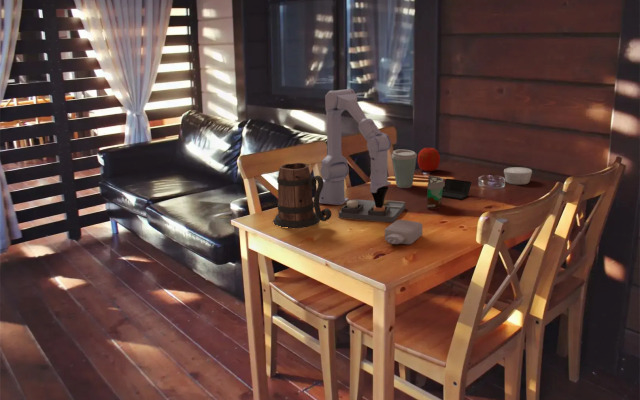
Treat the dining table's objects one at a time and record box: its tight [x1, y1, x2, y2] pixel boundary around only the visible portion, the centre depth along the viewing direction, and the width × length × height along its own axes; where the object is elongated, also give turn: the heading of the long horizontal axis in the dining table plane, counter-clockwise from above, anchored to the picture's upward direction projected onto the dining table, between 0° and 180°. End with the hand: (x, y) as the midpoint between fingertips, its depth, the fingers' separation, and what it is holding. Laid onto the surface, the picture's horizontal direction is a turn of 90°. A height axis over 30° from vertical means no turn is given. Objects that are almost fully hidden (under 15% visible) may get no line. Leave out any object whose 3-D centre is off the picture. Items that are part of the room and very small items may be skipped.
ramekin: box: [503, 166, 533, 186], centre depth 247 cm, size 11×11×5 cm
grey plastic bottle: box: [384, 219, 423, 246], centre depth 185 cm, size 5×9×15 cm
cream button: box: [346, 199, 358, 209], centre depth 211 cm, size 4×4×2 cm
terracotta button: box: [374, 206, 385, 212], centre depth 207 cm, size 4×4×2 cm
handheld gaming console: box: [442, 178, 472, 201], centre depth 232 cm, size 12×7×10 cm
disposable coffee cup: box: [390, 149, 418, 189], centre depth 245 cm, size 11×11×15 cm
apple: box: [417, 147, 441, 172], centre depth 270 cm, size 10×10×12 cm
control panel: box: [338, 198, 406, 224], centre depth 214 cm, size 20×17×4 cm
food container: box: [426, 175, 445, 210], centre depth 219 cm, size 12×6×10 cm, turn 168°
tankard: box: [272, 162, 332, 229], centre depth 204 cm, size 24×17×20 cm
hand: (379, 207), depth 207 cm, fingers closed, pressing on terracotta button
